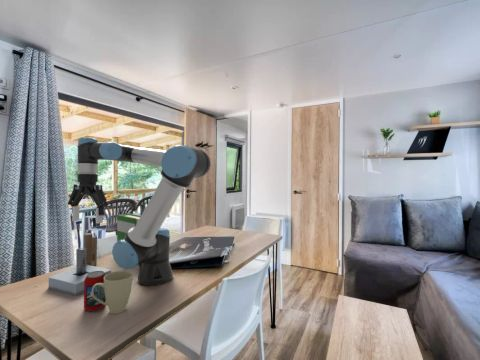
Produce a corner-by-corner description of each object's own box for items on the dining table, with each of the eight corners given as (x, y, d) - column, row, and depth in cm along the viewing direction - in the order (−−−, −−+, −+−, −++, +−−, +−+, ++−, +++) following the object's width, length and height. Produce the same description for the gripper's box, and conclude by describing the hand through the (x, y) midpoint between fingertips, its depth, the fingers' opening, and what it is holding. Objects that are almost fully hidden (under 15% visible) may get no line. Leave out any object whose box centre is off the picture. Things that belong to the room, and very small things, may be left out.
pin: (88, 280, 105) (88, 248, 104) (80, 283, 101) (80, 250, 101) (82, 279, 106) (82, 247, 106) (74, 282, 103) (74, 249, 102)
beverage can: (89, 314, 81) (90, 279, 81) (79, 308, 85) (80, 274, 84) (109, 306, 87) (110, 272, 87) (99, 300, 90) (100, 268, 90)
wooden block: (96, 264, 127) (97, 229, 127) (90, 271, 117) (91, 234, 117) (88, 264, 126) (89, 230, 126) (82, 272, 116) (82, 235, 115)
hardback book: (146, 259, 136) (147, 216, 135) (134, 263, 130) (135, 218, 129) (128, 253, 146) (129, 213, 145) (116, 256, 140) (117, 214, 139)
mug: (117, 300, 91) (118, 268, 91) (137, 306, 87) (138, 273, 87) (89, 315, 81) (90, 279, 81) (110, 323, 77) (111, 285, 77)
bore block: (110, 279, 108) (111, 269, 108) (75, 295, 93) (75, 284, 93) (85, 274, 114) (85, 264, 114) (48, 288, 99) (48, 277, 99)
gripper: (117, 173, 106) (116, 222, 106) (74, 173, 113) (74, 218, 114) (102, 173, 99) (102, 225, 99) (58, 173, 106) (58, 221, 106)
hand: (87, 221), depth 106 cm, fingers open, 13 cm apart
